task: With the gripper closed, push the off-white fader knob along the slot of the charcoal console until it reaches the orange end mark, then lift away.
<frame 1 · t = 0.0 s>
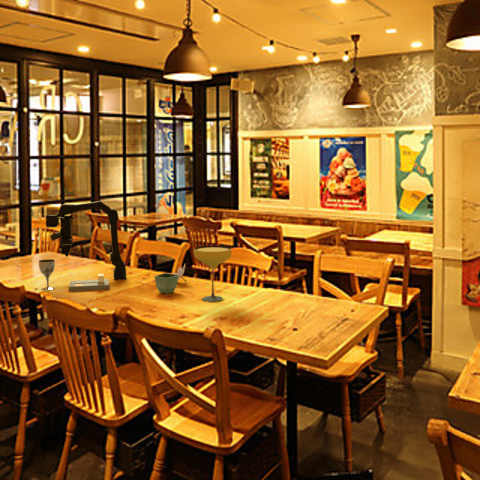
hand: (67, 255, 309), 15 cm above the table, fingers open, 9 cm apart
flower pot: (166, 292, 286), on the table
console: (89, 287, 296), on the table
fader: (101, 279, 297), point 4 cm above the table, slide at 0.0 cm
water lily: (177, 283, 309), on the table
wine glass: (48, 289, 293), on the table
cocktail glass: (212, 299, 273), on the table
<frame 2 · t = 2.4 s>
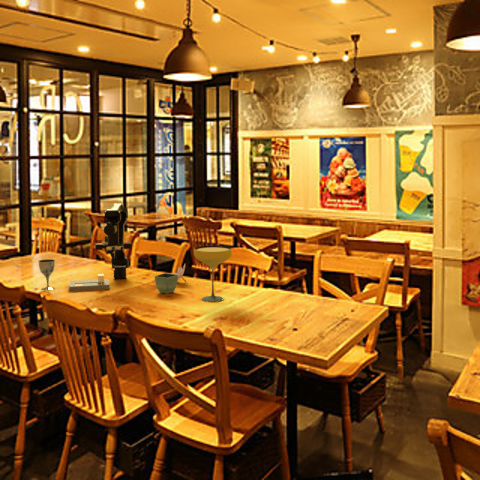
hand: (114, 262, 298), 13 cm above the table, fingers closed
nothing on the table moved.
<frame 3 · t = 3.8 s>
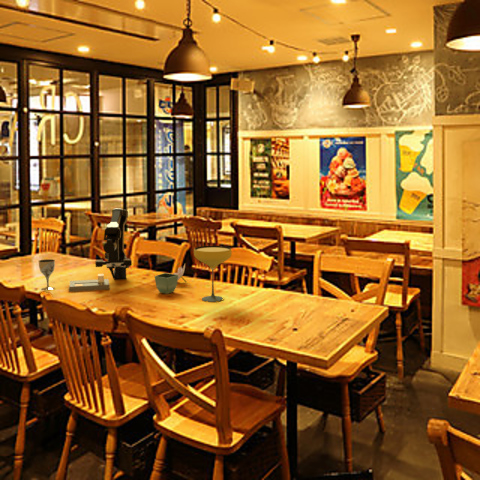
hand: (114, 278, 299), 4 cm above the table, fingers closed
nothing on the table moved.
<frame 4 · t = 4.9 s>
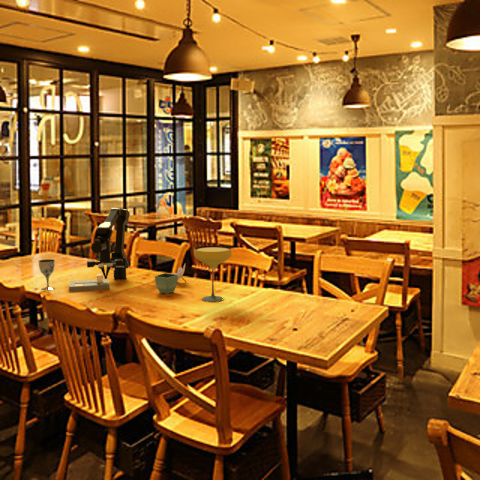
hand: (105, 279, 298), 4 cm above the table, fingers closed
fader: (99, 279, 297), point 4 cm above the table, slide at 0.6 cm, touching gripper
everything else where it was.
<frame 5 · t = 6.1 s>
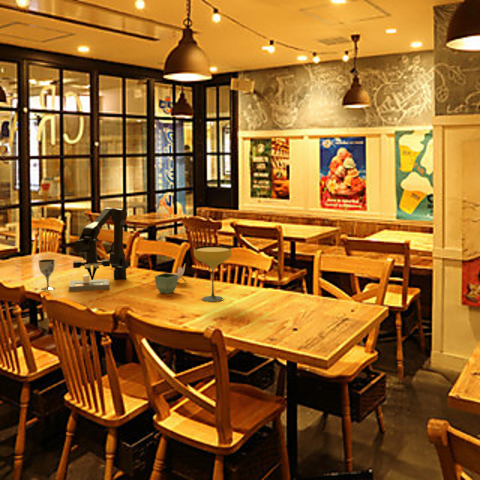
hand: (92, 279, 296), 4 cm above the table, fingers closed
fader: (86, 280, 295), point 4 cm above the table, slide at 7.5 cm, touching gripper
everything else where it was.
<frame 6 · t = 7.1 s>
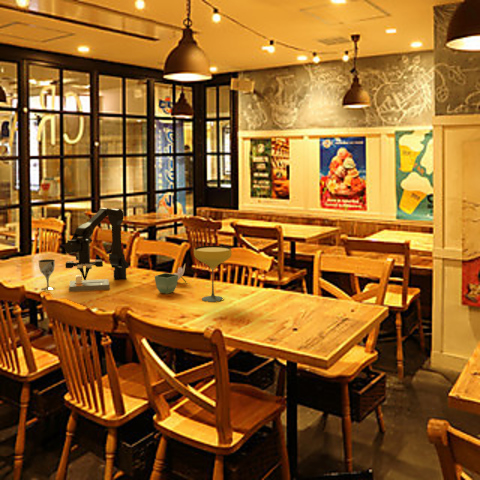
hand: (84, 280, 295), 4 cm above the table, fingers closed
fader: (78, 280, 295), point 4 cm above the table, slide at 11.3 cm, touching gripper
everything else where it was.
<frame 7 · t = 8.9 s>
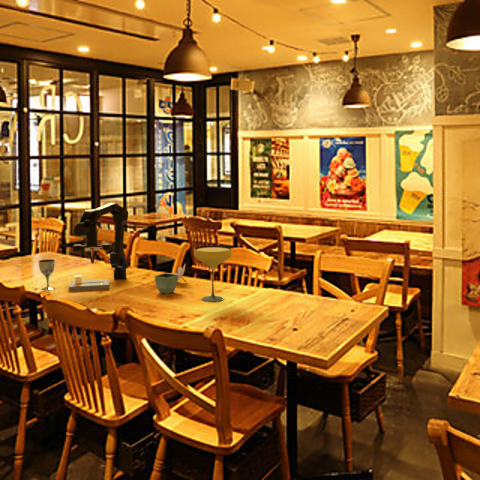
hand: (92, 263, 295), 13 cm above the table, fingers closed
fader: (78, 280, 294), point 4 cm above the table, slide at 11.5 cm
everything else where it was.
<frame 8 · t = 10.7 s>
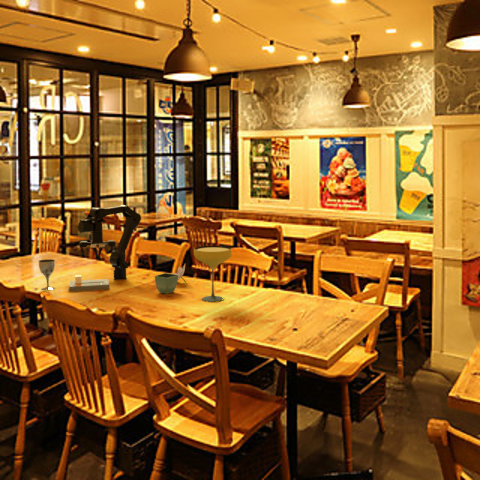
hand: (98, 259, 305), 13 cm above the table, fingers closed
nothing on the table moved.
at the end: fader slide at 11.5 cm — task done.
